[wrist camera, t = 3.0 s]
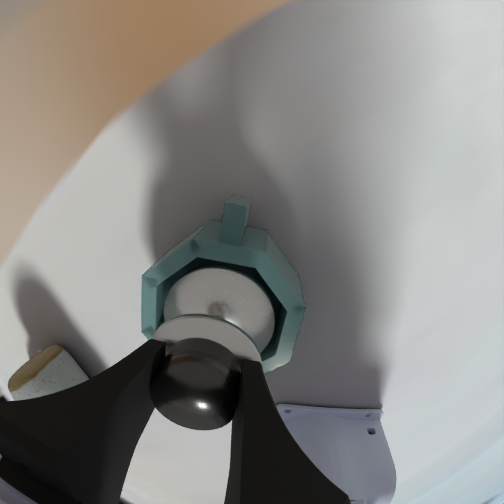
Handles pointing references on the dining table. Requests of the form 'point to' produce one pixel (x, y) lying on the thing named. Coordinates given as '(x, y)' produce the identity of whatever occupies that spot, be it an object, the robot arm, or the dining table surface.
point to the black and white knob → (209, 344)
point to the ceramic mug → (46, 374)
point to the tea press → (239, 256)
